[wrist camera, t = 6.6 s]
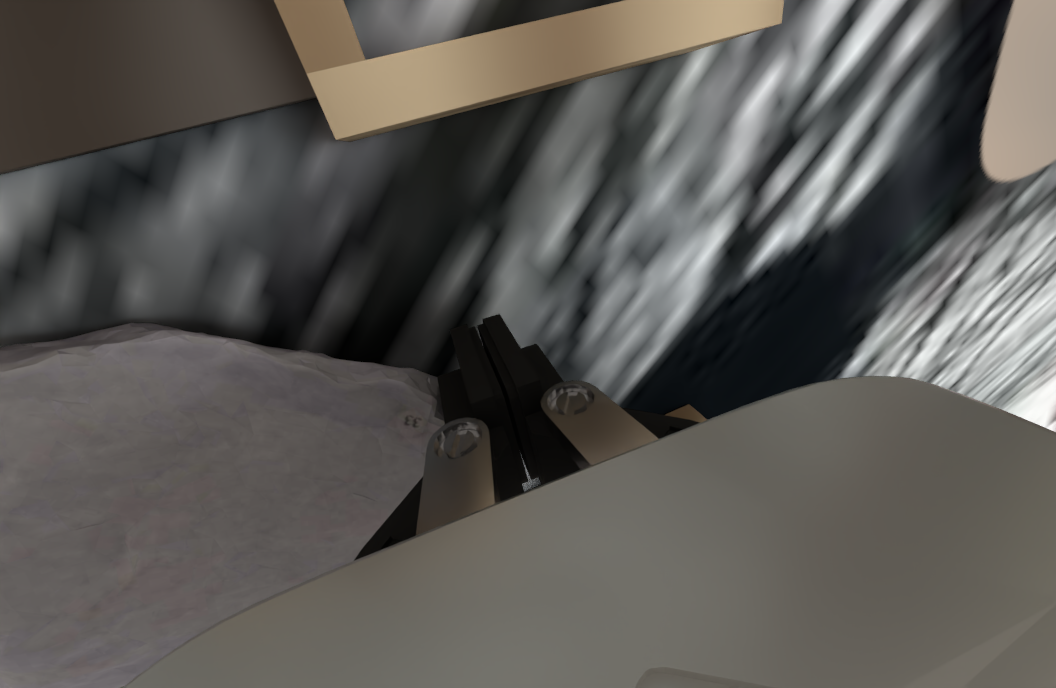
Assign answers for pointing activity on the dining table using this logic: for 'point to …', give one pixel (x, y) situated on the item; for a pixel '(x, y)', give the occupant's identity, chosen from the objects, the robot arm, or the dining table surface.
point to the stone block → (182, 488)
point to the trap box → (302, 66)
